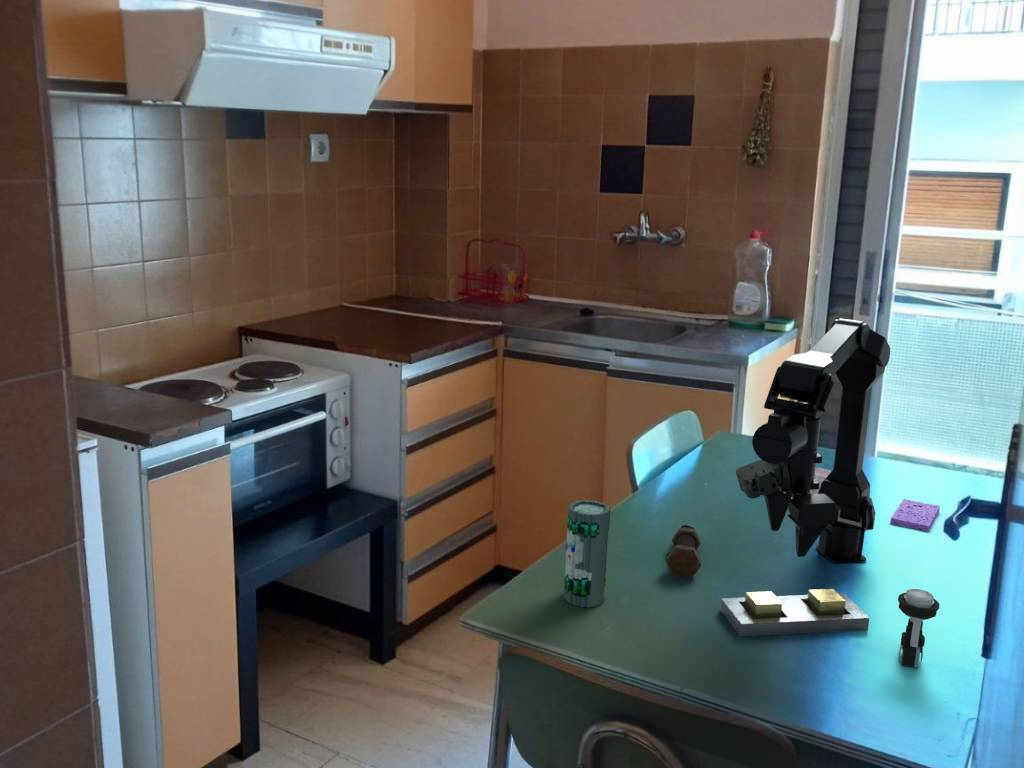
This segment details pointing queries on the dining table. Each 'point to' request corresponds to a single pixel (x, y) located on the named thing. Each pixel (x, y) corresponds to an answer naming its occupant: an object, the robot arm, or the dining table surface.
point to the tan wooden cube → (825, 602)
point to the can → (586, 553)
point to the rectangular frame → (793, 618)
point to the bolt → (684, 553)
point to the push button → (915, 623)
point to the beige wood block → (762, 605)
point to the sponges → (915, 515)
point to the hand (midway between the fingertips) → (787, 543)
